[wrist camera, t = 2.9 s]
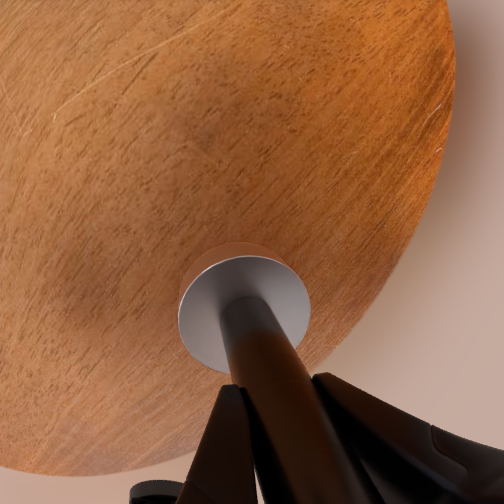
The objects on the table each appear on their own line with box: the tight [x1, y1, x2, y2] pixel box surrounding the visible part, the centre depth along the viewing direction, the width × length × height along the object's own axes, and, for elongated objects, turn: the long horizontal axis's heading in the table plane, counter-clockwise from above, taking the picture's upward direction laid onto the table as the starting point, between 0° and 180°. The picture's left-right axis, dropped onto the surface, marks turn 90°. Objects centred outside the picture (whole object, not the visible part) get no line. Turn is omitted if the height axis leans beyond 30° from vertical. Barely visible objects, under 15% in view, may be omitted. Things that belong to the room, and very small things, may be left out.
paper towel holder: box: [178, 242, 386, 504], centre depth 8 cm, size 5×5×11 cm
